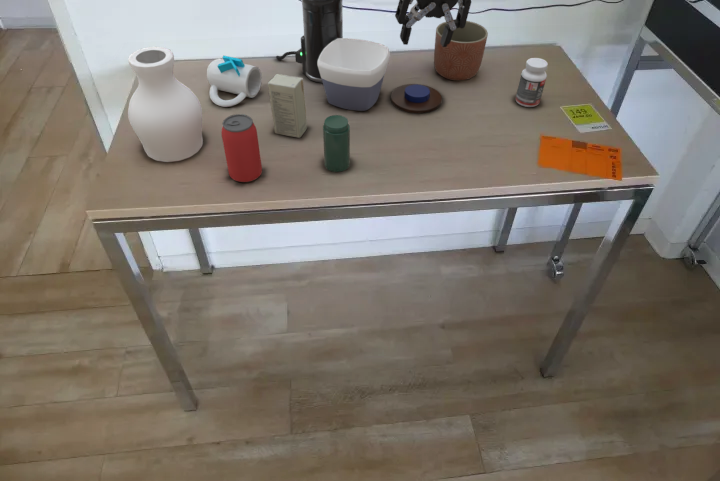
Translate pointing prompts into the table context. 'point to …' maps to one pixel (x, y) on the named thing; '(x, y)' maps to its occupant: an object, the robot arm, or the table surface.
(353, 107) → the bowl
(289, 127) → the cosmetic box
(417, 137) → the table surface
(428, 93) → the lid
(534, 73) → the pill bottle
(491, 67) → the table surface
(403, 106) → the trivet
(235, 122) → the beer can
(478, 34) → the planter
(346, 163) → the jar
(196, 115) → the vase
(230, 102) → the mug
